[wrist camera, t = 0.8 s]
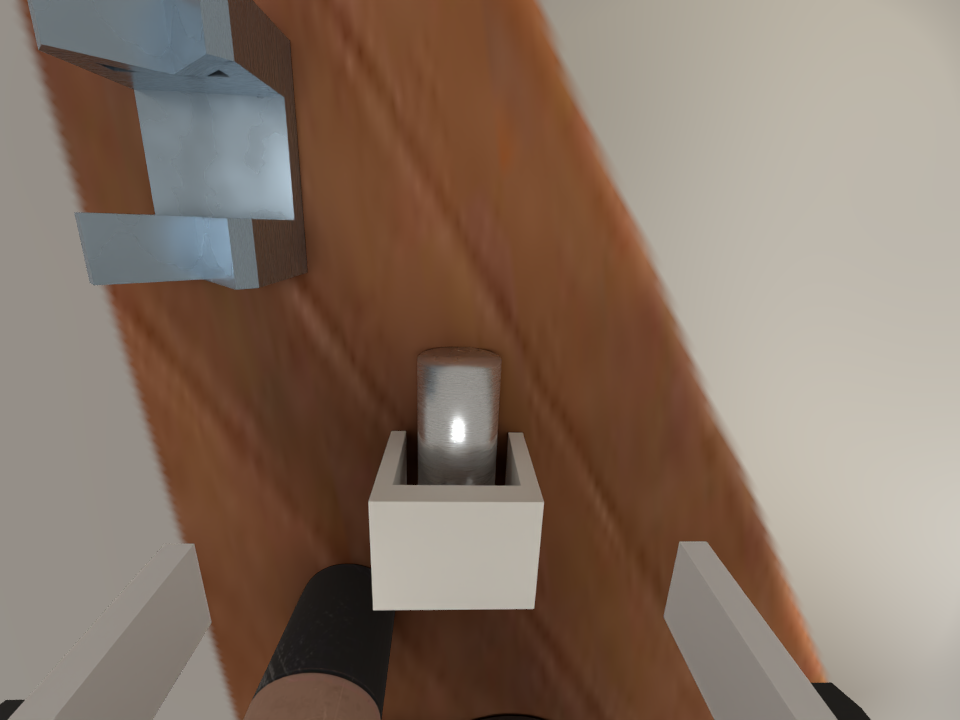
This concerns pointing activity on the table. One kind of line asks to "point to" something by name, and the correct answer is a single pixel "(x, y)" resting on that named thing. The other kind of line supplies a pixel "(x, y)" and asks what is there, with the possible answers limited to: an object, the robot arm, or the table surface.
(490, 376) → the axle
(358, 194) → the table surface
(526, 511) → the u shaped block
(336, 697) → the travel mug
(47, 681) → the robot arm
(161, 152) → the v block
